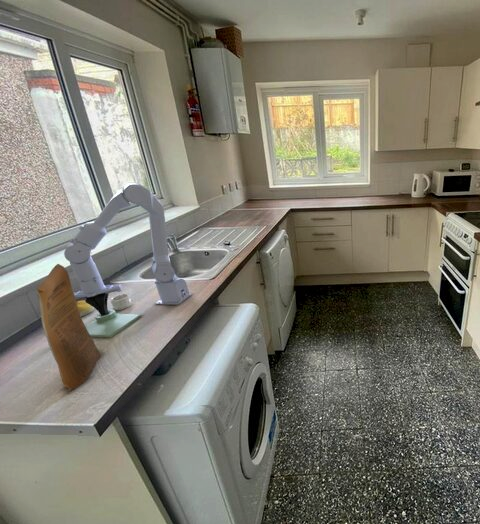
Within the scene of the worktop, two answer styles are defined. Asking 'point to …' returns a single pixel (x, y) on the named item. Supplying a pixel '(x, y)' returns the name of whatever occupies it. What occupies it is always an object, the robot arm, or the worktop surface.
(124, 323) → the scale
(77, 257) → the robot arm
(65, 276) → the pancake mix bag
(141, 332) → the worktop surface
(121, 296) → the cup
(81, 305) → the bread roll
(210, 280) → the worktop surface
